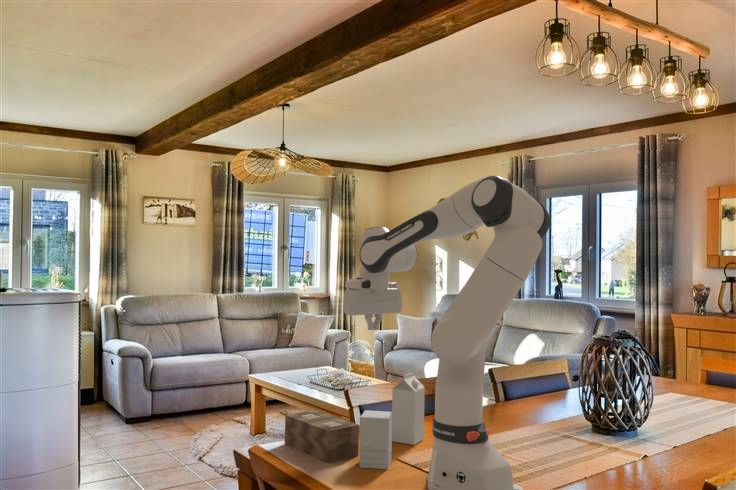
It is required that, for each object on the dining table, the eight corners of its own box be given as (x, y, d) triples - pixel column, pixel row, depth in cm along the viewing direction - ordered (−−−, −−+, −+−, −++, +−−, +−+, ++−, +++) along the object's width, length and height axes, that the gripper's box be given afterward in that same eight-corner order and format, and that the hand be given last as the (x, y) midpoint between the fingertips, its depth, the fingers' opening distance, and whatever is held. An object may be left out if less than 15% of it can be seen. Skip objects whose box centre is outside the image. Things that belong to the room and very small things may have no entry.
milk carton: (391, 441, 174) (392, 374, 175) (401, 435, 180) (402, 370, 181) (414, 445, 171) (415, 377, 171) (424, 439, 177) (425, 373, 178)
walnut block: (358, 455, 161) (359, 424, 161) (327, 462, 155) (328, 430, 155) (314, 438, 176) (314, 409, 176) (284, 444, 170) (285, 415, 170)
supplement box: (392, 460, 157) (393, 411, 158) (387, 470, 150) (388, 418, 150) (363, 458, 159) (364, 409, 159) (358, 467, 151) (359, 416, 152)
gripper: (393, 282, 189) (392, 327, 189) (340, 282, 176) (339, 330, 175) (407, 282, 184) (406, 328, 184) (354, 283, 171) (353, 332, 170)
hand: (373, 329), depth 179 cm, fingers closed
